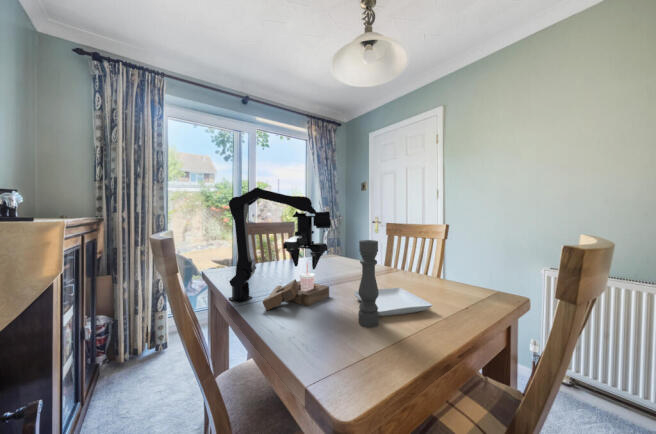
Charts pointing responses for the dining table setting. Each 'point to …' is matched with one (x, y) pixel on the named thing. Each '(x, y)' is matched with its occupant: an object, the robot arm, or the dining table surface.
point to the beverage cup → (307, 280)
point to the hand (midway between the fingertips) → (304, 267)
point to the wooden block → (281, 295)
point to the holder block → (311, 294)
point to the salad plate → (397, 302)
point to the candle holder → (368, 284)
